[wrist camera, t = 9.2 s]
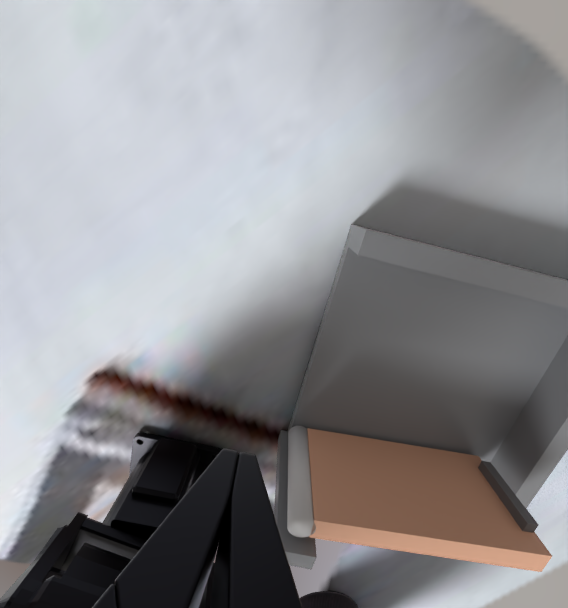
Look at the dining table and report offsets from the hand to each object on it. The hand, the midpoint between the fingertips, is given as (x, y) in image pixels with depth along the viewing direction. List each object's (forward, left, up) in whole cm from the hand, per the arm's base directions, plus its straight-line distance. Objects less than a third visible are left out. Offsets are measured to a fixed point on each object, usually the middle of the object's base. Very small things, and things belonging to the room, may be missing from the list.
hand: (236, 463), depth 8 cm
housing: (-2, -11, -12) cm, 16 cm away
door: (-7, -10, -11) cm, 16 cm away
